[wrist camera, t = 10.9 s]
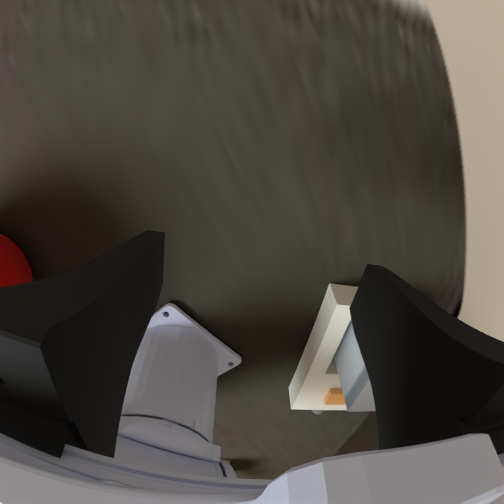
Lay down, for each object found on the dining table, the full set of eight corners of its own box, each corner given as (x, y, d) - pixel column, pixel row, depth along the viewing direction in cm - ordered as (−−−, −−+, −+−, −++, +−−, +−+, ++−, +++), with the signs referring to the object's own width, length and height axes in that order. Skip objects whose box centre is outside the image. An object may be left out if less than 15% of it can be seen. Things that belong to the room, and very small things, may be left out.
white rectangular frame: (347, 403, 30) (353, 427, 27) (282, 402, 29) (284, 427, 27) (409, 293, 23) (424, 317, 21) (329, 283, 23) (339, 310, 20)
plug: (361, 345, 26) (384, 410, 20) (329, 343, 26) (347, 411, 19) (382, 304, 24) (414, 369, 18) (348, 300, 24) (375, 369, 17)
